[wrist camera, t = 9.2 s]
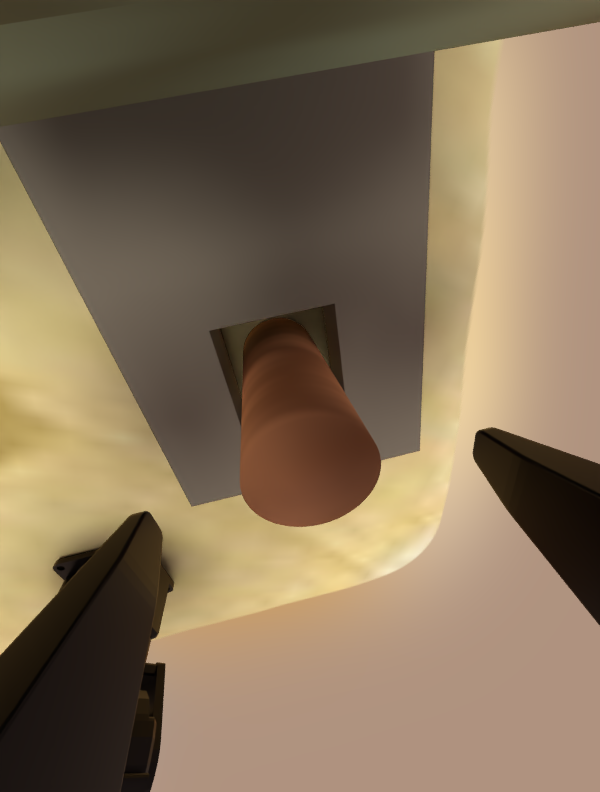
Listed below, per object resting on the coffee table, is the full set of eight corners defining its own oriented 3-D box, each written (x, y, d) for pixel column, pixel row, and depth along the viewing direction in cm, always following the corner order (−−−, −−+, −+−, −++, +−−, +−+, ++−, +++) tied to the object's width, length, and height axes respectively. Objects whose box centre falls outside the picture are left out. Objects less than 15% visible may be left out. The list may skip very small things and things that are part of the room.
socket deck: (198, 471, 20) (191, 506, 18) (-44, -50, 9) (-158, -159, 7) (398, 423, 21) (419, 450, 18) (393, -113, 10) (444, -234, 7)
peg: (253, 391, 18) (259, 539, 9) (234, 326, 16) (220, 439, 7) (318, 376, 18) (383, 508, 10) (307, 310, 16) (377, 401, 8)
